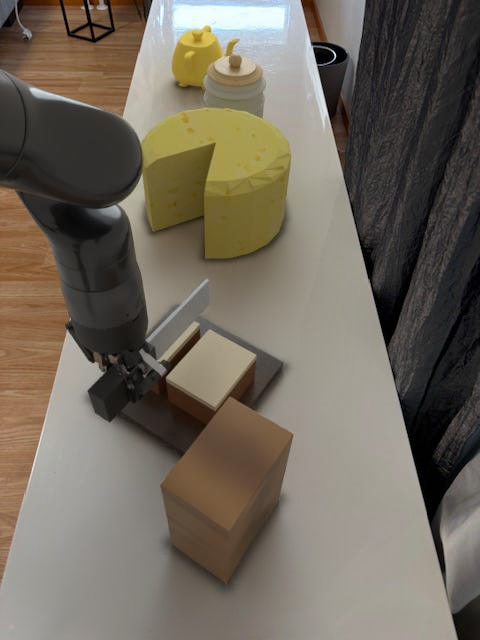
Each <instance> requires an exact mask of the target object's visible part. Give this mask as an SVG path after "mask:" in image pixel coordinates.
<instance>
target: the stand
mask: <svg viewBox="0 0 480 640" xmlns="http://www.w3.org/2000/svg"><path fill="white" fill-rule="evenodd" d="M294 435H295V434H294V433H293V432H291V431H289V430H288V429H286V428H285V427H283V426H281V425H279V424H277V423H276V422H274V421H272V420H271V419H269V418H267V417H266V416H264V415H262V414H261V413H258V412H257V411H255V410H253V408H252V409H250V408H248V407H247V406H245V405H243V404H242V403H240V402H238V401H237V400H235V399H233V398H231V397H229V398H228V399H227V400H226V402H225V403H224V404H223V406H222V407H221V408H220V409H219V411H218V412H217V413H216V415H215V416H214V417H213V418H212V420H211V421H210V422H209V423H208V425H207V426H206V427H205V429H204V430H203V431H202V432H201V434H200V435H199V436H198V437H197V439H196V440H195V441H194V443H193V444H192V445H191V446H190V448H189V449H188V450H187V451H186V453H185V454H184V455H183V456H181V458H180V459H179V460H178V462H177V463H176V464H175V465H174V467H173V468H172V469H171V470H170V472H169V473H168V474H167V475H166V477H165V478H164V479H163V480H162V482H161V483H160V484H159V485H160V486H159V487H160V491H161V495H162V501H163V507H164V510H165V517H166V521H167V527H168V532H169V537H170V542H171V545H172V546H173V547H174V548H176V549H177V550H179V551H180V552H182V553H183V554H184V555H186V556H187V557H188V558H190V559H191V560H192V561H194V562H195V563H197V564H198V565H199V566H201V567H202V568H203V569H205V570H206V571H208V573H211V574H212V575H213V576H214V577H216V578H217V579H219V580H220V581H221V582H222V583H224V584H228V582H229V580H230V579H231V577H232V576H233V574H234V572H235V571H236V569H237V568H238V566H239V565H240V563H241V562H242V560H243V558H244V557H245V555H246V553H247V552H248V550H249V548H250V547H251V545H252V543H253V542H254V541H255V539H256V537H257V536H258V534H259V533H260V531H261V529H262V528H263V527H264V526H265V523H266V522H267V520H268V518H269V516H270V515H271V514H272V512H273V511H274V509H275V507H276V506H277V504H278V502H279V501H280V496H281V492H282V487H283V483H284V479H285V478H284V477H285V474H286V470H287V465H288V461H289V456H290V452H291V449H292V443H293V439H294Z"/></svg>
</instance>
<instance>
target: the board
mask: <svg viewBox="0 0 480 640" xmlns="http://www.w3.org/2000/svg"><path fill="white" fill-rule="evenodd" d="M179 306H180V305H179V304H175V306H173V308H172V309H170V311H169V312H168V313H166V314H165V316H164V317H162V319H160V320H159V322H158V323H156V325H155V326H154V327H153V328H152V329H151V330H150V331H149V332H148V333H146V337H145V340H147V339H148V338H149V337H150V336H151V334H152V333H153V332H154V331H155V330H156V329H157V328H158V327H159V326H160V325H161V324H162V323H163V322H164V321H165V320H166V319H167V318H168V317H169V316H170V315H171V314H172V313H173V312H174V311H175V310H176V309H177V308H178V307H179ZM195 322H197V323H199V324H200V339H201V338H202V337H203V336H204V334H205V333H206V332H207V331H208V330H209V329H210V330H212V331H214V332H215V333H217V334H219V335H221V336H223V337H225V338H226V339H228V340H230V341H232V342H234V343H236V344H237V345H239V346H241V347H243V348H245V349H247V350H248V351H250V352H252V353H254V354H256V355H257V356H256V367H255V378H254V380H253V381H252V383H251V384H250V385H249V387H248V388H247V389H246V390H245V392H244V393H243V394H242V396H241V397H240V398H239V400H238V402H240V403H242V404H243V405H245V406H247V407H248V408H250V409H252V410H253V408H254V407H255V406H256V404H258V402H259V401H260V399H261V397H262V396H263V395H264V394H265V392H266V391H267V390H268V388H269V387H270V386H271V384H272V383H273V382H274V380H275V379H276V377H277V376H278V375H279V374H280V372H281V371H282V369H283V367H284V361H282V360H280V359H279V358H277V357H275V356H274V355H271V354H270V353H268V352H266V351H264V350H262V349H260V348H258V347H257V346H254V345H253V344H251V343H249V342H247V341H246V340H243V339H242V338H240V337H238V336H236V335H234V334H232V333H230V332H229V331H227V330H225V329H223V328H221V327H219V326H218V325H216V324H214V323H212V322H210V321H208V320H207V319H204V318H203V317H201V316H199V317H198V318H197V319H196V320H195ZM118 415H120V416H121V417H122V418H124V419H125V420H127V421H129V422H130V423H132V424H134V426H136V427H138V428H139V429H141V430H142V431H144V432H145V433H146V434H148V435H150V436H151V437H153V438H155V439H156V440H157V441H159V442H160V443H162V444H164V445H165V446H167V447H168V448H170V449H171V450H173V451H175V452H176V453H178V454H179V455H181V457H183V455H184V454H185V453H186V451H187V450H188V449H189V448H190V446H191V445H192V444H193V443H194V441H195V440H196V439H197V437H198V436H199V435H200V434H201V432H202V431H203V430H204V429H205V427H206V426H207V424H205V423H204V422H202V421H200V420H199V419H197V418H195V417H194V416H192V415H191V414H189V413H187V412H186V411H184V410H182V409H181V408H179V407H178V406H176V405H174V404H173V403H171V402H169V399H168V391H167V388H166V389H165V390H164V391H163V392H162V393H161V394H160V395H158V394H157V393H155V392H153V391H152V390H149V391H148V392H147V393H146V394H145V395H144V396H143V397H142V398H141V399H140V401H139V402H137V401H136V403H134V404H133V403H131V402H129V403H128V404H127V405H126V406H125V407H124V408H123V409H122V410H121V411H120V413H119V414H118Z"/></svg>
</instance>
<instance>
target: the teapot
mask: <svg viewBox="0 0 480 640" xmlns="http://www.w3.org/2000/svg"><path fill="white" fill-rule="evenodd" d="M240 41H241V39H240V38H236V39H235V38H234V39H231V40H229V42H228V43H227V45H226V50H225V54H224V53H223V49H222V46H221V44H220V42H219V40H218V38H217V36H216V35H215V34H214V33H212V28H211V26H210V25H207V24H206V25H204V26H203V27H202V29H198V28H196V29H192V30H188V31H185V32H184V33H182V35H181V36H180V38H179V39H178V40H177V43H176V46H175V47H174V51H173V54H172V59H171V72H172V75H173V76H174V78H175V79H176V80H177V81H178V82H179V84H178V85H179V86H180V87H182V88H185V87H189V86H192V87H193V86H194V87H201V89H202V90H203V91H206V89H205V88H204V85H203V80H204V77H205V76H206V75H207V69H208V67H209V65H210V64H211V63H213V62H215V61H217V60H218V59H220V58H222V57H225V56H230V55H231V54H233V53H234V52H233V51H234V48H235V45H236V44H237V43H239V42H240Z"/></svg>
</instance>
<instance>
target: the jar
mask: <svg viewBox="0 0 480 640" xmlns="http://www.w3.org/2000/svg"><path fill="white" fill-rule="evenodd" d="M263 75H264V72H263V68H262V67H261V66H260V65H259V64H258V63H257V62H255V61H254V60H252V59H250V58H249V57H247V56H242V55H240V53H237V52H232V54H231V55H230V56H225V57H222V58H220V59H218V60H217V61H215V62H213V63H211V64H210V65H209V67H208V69H207V75H206V76H205V77H204V80H203V85H204V88H205V89H206V90H205V91H204V93H203V103H204V105H203V106H204V107H203V108H218V109H225V108H229V109H233V110H238V111H246V112H248V113H250V114H253V115H255V116H257V117H260V118H264V107H265V101H266V97H265V94H264V92H265V90H266V87H267V81H266V79H265V78H264V76H263Z"/></svg>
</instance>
